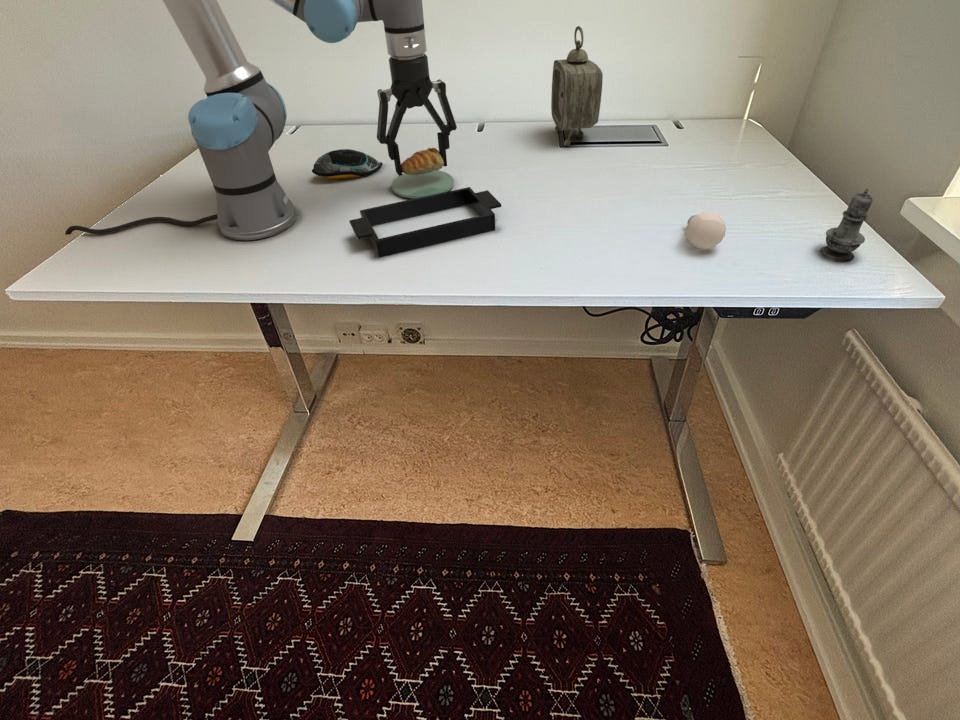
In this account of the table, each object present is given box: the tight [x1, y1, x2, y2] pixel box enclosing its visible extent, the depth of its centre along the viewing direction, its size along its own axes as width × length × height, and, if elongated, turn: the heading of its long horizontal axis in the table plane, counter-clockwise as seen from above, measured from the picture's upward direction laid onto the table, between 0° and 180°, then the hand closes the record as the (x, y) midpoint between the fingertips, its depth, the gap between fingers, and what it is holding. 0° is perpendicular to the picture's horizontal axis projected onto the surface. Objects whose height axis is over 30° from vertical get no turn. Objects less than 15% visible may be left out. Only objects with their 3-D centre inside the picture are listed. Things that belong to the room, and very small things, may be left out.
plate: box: [391, 170, 455, 199], centre depth 121 cm, size 14×14×1 cm
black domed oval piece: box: [311, 148, 384, 180], centre depth 126 cm, size 9×17×6 cm, turn 116°
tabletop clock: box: [550, 25, 604, 147], centre depth 131 cm, size 14×9×25 cm, turn 6°
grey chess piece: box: [819, 188, 874, 263], centre depth 90 cm, size 6×6×12 cm
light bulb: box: [685, 211, 727, 250], centre depth 97 cm, size 7×7×11 cm
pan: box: [349, 186, 502, 259], centre depth 105 cm, size 29×13×4 cm, turn 112°
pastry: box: [401, 147, 444, 176], centre depth 117 cm, size 9×7×4 cm
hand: (421, 168), depth 118 cm, fingers closed on pastry, 10 cm apart
